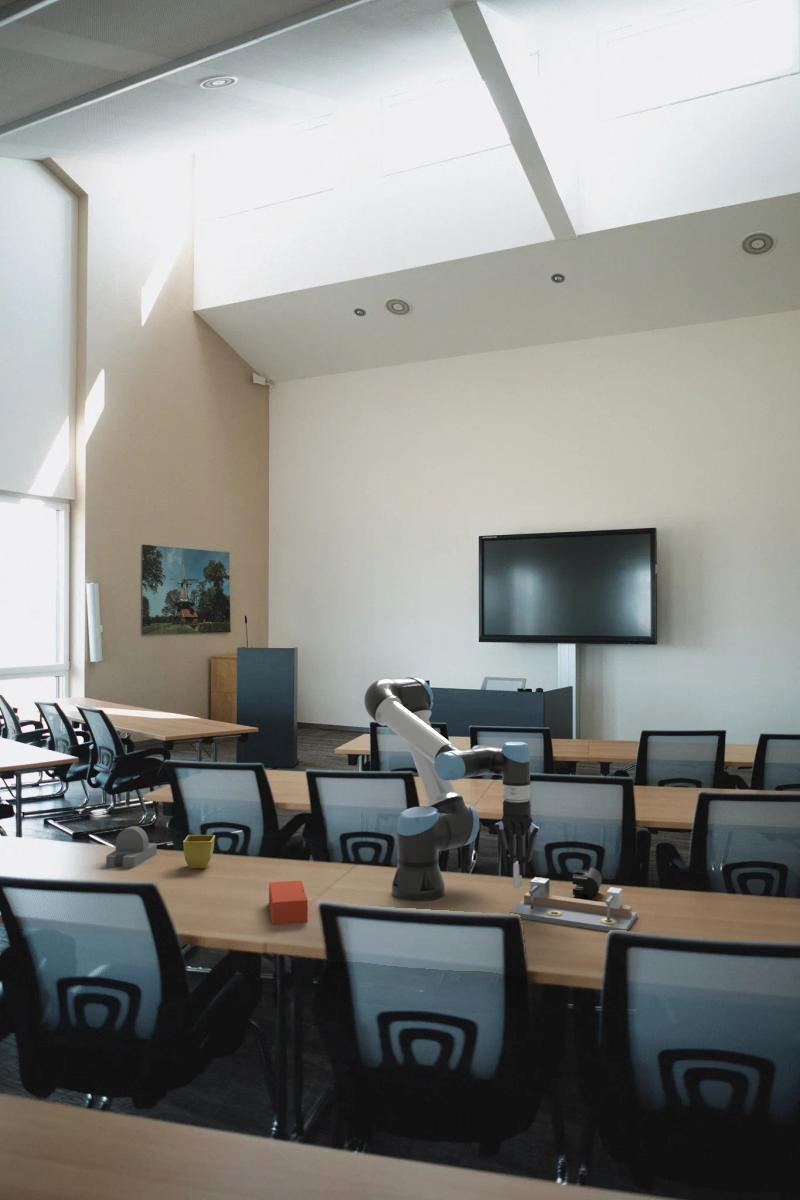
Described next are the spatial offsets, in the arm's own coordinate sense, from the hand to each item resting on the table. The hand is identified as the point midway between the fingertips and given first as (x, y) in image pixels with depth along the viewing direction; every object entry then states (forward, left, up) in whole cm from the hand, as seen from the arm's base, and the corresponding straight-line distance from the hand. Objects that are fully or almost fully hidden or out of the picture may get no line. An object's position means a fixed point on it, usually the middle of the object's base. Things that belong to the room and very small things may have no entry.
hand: (517, 886), depth 240 cm
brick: (-53, -32, -5) cm, 62 cm away
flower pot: (-103, -7, -5) cm, 103 cm away
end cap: (+15, +16, -5) cm, 22 cm away
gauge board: (+16, -3, -5) cm, 17 cm away
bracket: (-128, -10, -5) cm, 128 cm away
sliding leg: (+6, -3, -3) cm, 7 cm away
